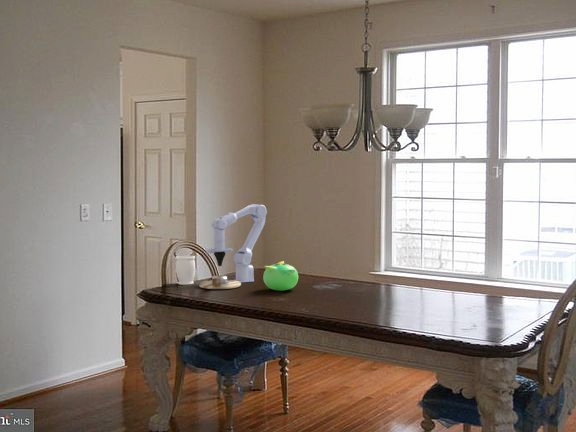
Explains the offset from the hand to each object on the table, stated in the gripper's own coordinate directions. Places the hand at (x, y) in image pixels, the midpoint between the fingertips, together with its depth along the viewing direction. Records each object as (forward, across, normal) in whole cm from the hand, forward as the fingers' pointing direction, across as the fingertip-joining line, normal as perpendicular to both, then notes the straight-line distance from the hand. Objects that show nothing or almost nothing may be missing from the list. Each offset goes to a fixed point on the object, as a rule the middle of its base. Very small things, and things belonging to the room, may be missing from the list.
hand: (219, 265), depth 389 cm
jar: (+10, +16, -10) cm, 21 cm away
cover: (+8, +3, +8) cm, 12 cm away
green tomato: (+10, -20, +34) cm, 41 cm away
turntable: (+10, +3, +8) cm, 13 cm away
